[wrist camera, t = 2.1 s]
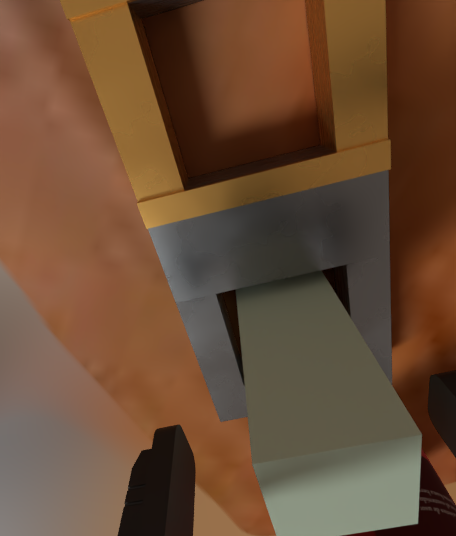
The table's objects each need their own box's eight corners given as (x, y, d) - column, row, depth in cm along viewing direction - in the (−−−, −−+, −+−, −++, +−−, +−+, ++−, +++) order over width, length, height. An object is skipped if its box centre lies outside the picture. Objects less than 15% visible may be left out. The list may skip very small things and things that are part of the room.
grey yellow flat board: (351, -145, 10) (385, -210, 8) (375, 361, 18) (394, 392, 17) (62, -52, 10) (26, -88, 8) (220, 392, 19) (220, 425, 17)
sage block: (316, 262, 16) (422, 434, 8) (325, 328, 17) (418, 523, 9) (234, 281, 16) (252, 464, 8) (251, 343, 18) (279, 545, 10)
